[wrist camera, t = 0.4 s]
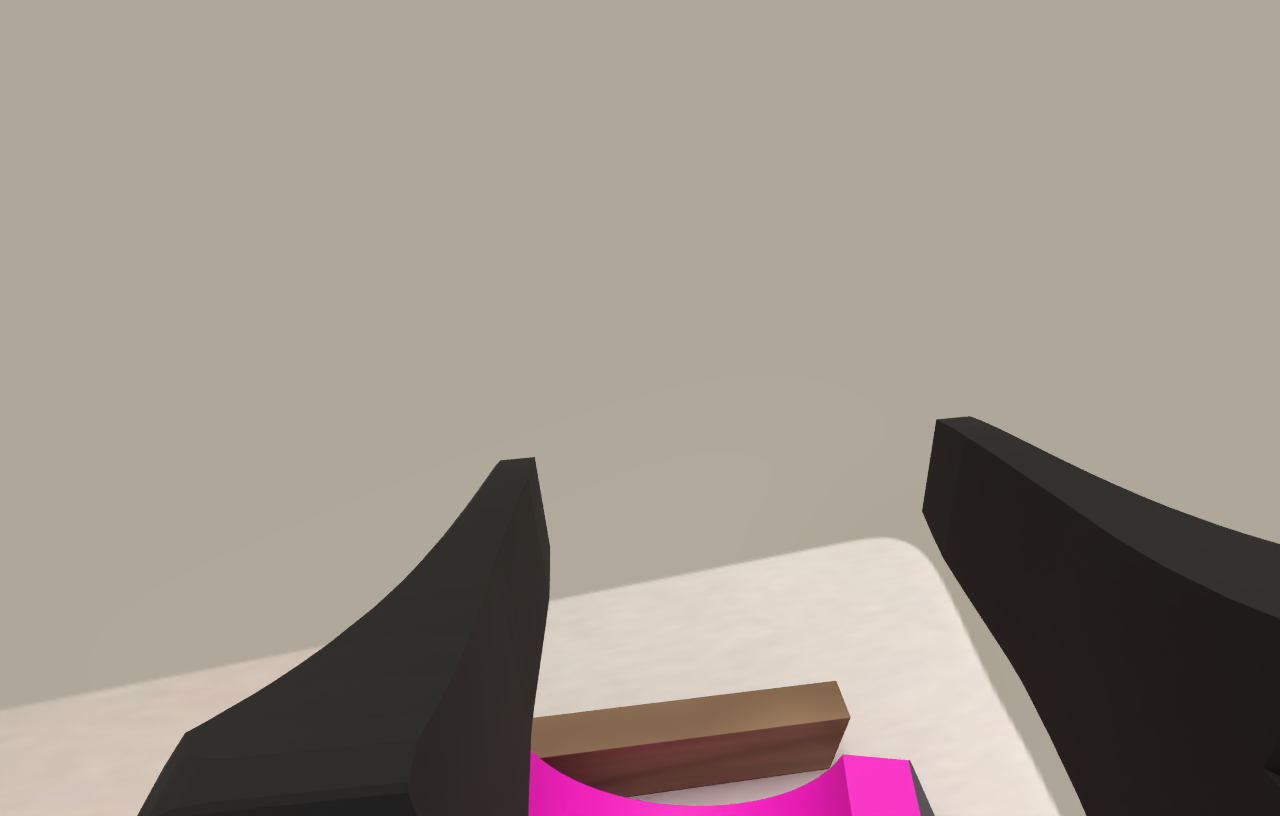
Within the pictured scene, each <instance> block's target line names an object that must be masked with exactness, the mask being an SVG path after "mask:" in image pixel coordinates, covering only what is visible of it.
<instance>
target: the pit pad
mask: <svg viewBox="0 0 1280 816" xmlns="http://www.w3.org/2000/svg"><path fill="white" fill-rule="evenodd" d="M908 761H909V766H910V770H911V775H912V779H913V784H914V788H915V793H916V797H917V802H918V806H919V811H920V815H921V816H934V813H933V811H932V809H931V807H930V804H929V802H928V800H927V798H926V795H925V793H924V791H923V788H922V786H921V784H920V782H919V779H918V777H917V775H916V773H915V770H914V768H913V766H912V764H911V761H910V760H908Z"/></svg>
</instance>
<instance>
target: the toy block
mask: <svg viewBox="0 0 1280 816" xmlns="http://www.w3.org/2000/svg"><path fill="white" fill-rule="evenodd" d="M529 816H921V815H920V811H919V806H918V802H917V797H916V793H915V788H914V784H913V779H912V775H911V770H910V766H909V761H908V760H898V759H887V758H876V757H865V756H854V755H842V756H841V757H840V758H839V760H838V761H837V762H836V763H835V764H834V765H833V766H832V767H831V768H830V769H829V770H828V771H826V772H825V773H824V774H822V775H821V776H820V777H818V778H816V779H815V780H813V781H811V782H809V783H808V784H806V785H803V786H801V787H799V788H797V789H795V790H792V791H789V792H786V793H784V794H781V795H777V796H774V797H770V798H766V799H762V800H757V801H752V802H746V803H739V804H730V805H717V806H681V805H668V804H659V803H652V802H645V801H640V800H634V799H629V798H625V797H621V796H617V795H614V794H610V793H607V792H604V791H600V790H598V789H595V788H592V787H590V786H587V785H585V784H582V783H580V782H578V781H575V780H573V779H571V778H569V777H568V776H566V775H564V774H562V773H560V772H559V771H557V770H555V769H554V768H552V767H551V766H549V765H548V764H547V763H545V762H544V761H543V760H541V759H540V758H539V757H538V756H537V755H536V754H535V753H534V752H532V750H531V757H530V783H529Z"/></svg>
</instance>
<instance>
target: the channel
mask: <svg viewBox="0 0 1280 816" xmlns="http://www.w3.org/2000/svg"><path fill="white" fill-rule="evenodd" d="M850 718H851V717H850V715H849V712H848V710H847V707H846V705H845V702H844V700H843V697H842V695H841V692H840V690H839V687H838V684H837V682H836V681H830V682H822V683H814V684H806V685H798V686H790V687H782V688H773V689H765V690H757V691H749V692H741V693H733V694H725V695H716V696H708V697H700V698H692V699H684V700H676V701H668V702H659V703H651V704H643V705H635V706H627V707H619V708H611V709H602V710H594V711H586V712H578V713H570V714H562V715H554V716H545V717H537V718H533V723H532V733H531V750H532V752H534V753H535V754H536V755H537V756H538V757H539V758H540V759H541V760H543V761H544V762H545V763H547V764H548V765H549V766H551V767H552V768H554V769H555V770H557V771H559V772H560V773H562V774H564V775H566V776H568V777H569V778H571V779H573V780H575V781H578V782H580V783H582V784H585V785H587V786H590V787H592V788H595V789H598V790H600V791H604V792H607V793H610V794H614V795H617V796H621V797H628V796H635V795H642V794H649V793H657V792H664V791H671V790H678V789H685V788H692V787H699V786H707V785H714V784H721V783H728V782H735V781H742V780H749V779H757V778H764V777H771V776H778V775H785V774H792V773H799V772H807V771H814V770H821V769H828V768H830V766H831V763H832V761H833V759H834V756H835V754H836V751H837V749H838V746H839V744H840V742H841V739H842V737H843V734H844V732H845V730H846V727H847V725H848V722H849V720H850Z"/></svg>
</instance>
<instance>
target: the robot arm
mask: <svg viewBox="0 0 1280 816" xmlns="http://www.w3.org/2000/svg"><path fill="white" fill-rule="evenodd" d="M922 512H923V514H924V516H925V519H926V521H927V524H928V526H929V528H930V531H931V533H932V535H933V537H934V539H935V542H936V544H937V546H938V548H939V550H940V552H941V554H942V556H943V558H944V560H945V562H946V563H947V565H948V566H949V568H950V570H951V571H952V573H953V574H954V576H955V578H956V579H957V581H958V582H959V584H960V585H961V587H962V589H963V590H964V592H965V593H966V595H967V596H968V598H969V599H970V601H971V602H972V604H973V606H974V607H975V608H976V610H977V612H978V613H979V615H980V616H981V618H982V619H983V621H984V622H985V624H986V625H987V627H988V629H989V630H990V632H991V633H992V635H993V636H994V638H995V639H996V641H997V642H998V644H999V645H1000V647H1001V649H1002V650H1003V652H1004V653H1005V655H1006V656H1007V658H1008V659H1009V661H1010V663H1011V664H1012V666H1013V668H1014V669H1015V671H1016V673H1017V674H1018V676H1019V677H1020V679H1021V681H1022V683H1023V685H1024V686H1025V688H1026V690H1027V692H1028V694H1029V696H1030V698H1031V700H1032V702H1033V704H1034V706H1035V708H1036V710H1037V712H1038V714H1039V716H1040V718H1041V720H1042V722H1043V724H1044V726H1045V728H1046V730H1047V732H1048V734H1049V736H1050V738H1051V740H1052V742H1053V744H1054V746H1055V748H1056V750H1057V752H1058V755H1059V757H1060V759H1061V761H1062V763H1063V765H1064V767H1065V769H1066V772H1067V774H1068V776H1069V778H1070V780H1071V782H1072V784H1073V786H1074V788H1075V791H1076V793H1077V795H1078V797H1079V799H1080V802H1081V804H1082V806H1083V809H1084V811H1085V813H1086V816H1280V544H1277V543H1274V542H1270V541H1267V540H1264V539H1260V538H1257V537H1254V536H1250V535H1247V534H1243V533H1241V532H1238V531H1235V530H1231V529H1228V528H1225V527H1222V526H1219V525H1216V524H1213V523H1210V522H1208V521H1205V520H1203V519H1199V518H1197V517H1194V516H1191V515H1189V514H1186V513H1183V512H1181V511H1178V510H1175V509H1172V508H1169V507H1167V506H1165V505H1162V504H1160V503H1157V502H1155V501H1152V500H1150V499H1147V498H1145V497H1142V496H1140V495H1138V494H1135V493H1133V492H1131V491H1128V490H1126V489H1124V488H1122V487H1119V486H1117V485H1115V484H1112V483H1110V482H1108V481H1106V480H1103V479H1101V478H1099V477H1097V476H1095V475H1093V474H1090V473H1088V472H1086V471H1084V470H1082V469H1080V468H1078V467H1076V466H1074V465H1071V464H1070V463H1068V462H1065V461H1063V460H1061V459H1059V458H1057V457H1055V456H1053V455H1051V454H1049V453H1047V452H1045V451H1043V450H1041V449H1039V448H1037V447H1035V446H1033V445H1031V444H1029V443H1027V442H1025V441H1023V440H1021V439H1019V438H1017V437H1015V436H1013V435H1011V434H1009V433H1007V432H1005V431H1003V430H1001V429H998V428H996V427H994V426H992V425H990V424H988V423H985V422H983V421H981V420H978V419H976V418H973V417H970V416H969V417H959V418H948V419H937V420H936V426H935V432H934V438H933V445H932V452H931V457H930V464H929V471H928V477H927V483H926V490H925V496H924V502H923V509H922ZM549 589H550V544H549V538H548V532H547V527H546V521H545V515H544V509H543V503H542V498H541V492H540V486H539V481H538V474H537V468H536V462H535V457H533V458H522V459H511V460H501V461H500V462H499V463H498V464H497V465H496V466H495V467H494V469H493V470H492V472H491V473H490V475H489V476H488V477H487V479H486V480H485V482H484V483H483V484H482V486H481V487H480V489H479V490H478V491H477V493H476V494H475V495H474V497H473V498H472V500H471V501H470V502H469V504H468V505H467V506H466V508H465V509H464V510H463V512H462V513H461V514H460V516H459V517H458V518H457V519H456V520H455V522H454V523H453V524H452V526H451V527H450V528H449V530H448V531H447V532H446V533H445V534H444V536H443V537H442V538H441V539H440V540H439V542H438V543H437V544H436V545H435V546H434V547H433V548H432V550H431V551H430V552H429V553H428V554H427V555H426V556H425V558H424V559H423V560H422V561H421V562H420V563H419V564H418V565H417V566H416V568H415V569H414V570H413V571H412V572H411V573H410V574H409V575H408V576H407V577H406V578H405V579H404V580H403V581H402V582H401V583H400V584H399V585H398V586H397V587H396V588H395V589H394V590H393V591H391V592H390V593H389V594H388V595H387V596H386V597H385V598H384V599H383V600H382V601H381V602H379V603H378V604H377V605H376V606H375V607H374V608H373V609H371V610H370V611H369V612H368V613H366V614H365V615H364V616H363V617H361V618H360V619H359V620H358V621H356V622H355V623H354V624H353V625H351V626H350V627H349V628H348V629H346V630H345V631H344V632H343V633H341V634H340V635H339V636H338V637H336V638H335V639H334V640H333V641H331V642H330V643H329V644H328V645H326V646H325V647H323V648H322V649H321V650H319V651H318V652H316V653H315V654H314V655H312V656H311V657H309V658H308V659H307V660H305V661H304V662H302V663H301V664H300V665H298V666H297V667H295V668H293V669H292V670H290V671H289V672H287V673H286V674H284V675H283V676H281V677H280V678H278V679H277V680H275V681H274V682H272V683H271V684H269V685H268V686H266V687H264V688H263V689H261V690H260V691H258V692H256V693H255V694H253V695H251V696H250V697H248V698H246V699H244V700H243V701H241V702H239V703H237V704H236V705H234V706H232V707H231V708H229V709H227V710H225V711H224V712H222V713H220V714H218V715H217V716H215V717H213V718H212V719H210V720H208V721H206V722H205V723H203V724H201V725H199V726H197V727H196V728H194V729H192V730H190V731H188V732H186V733H185V734H184V736H183V737H182V739H181V741H180V742H179V744H178V745H177V747H176V748H175V750H174V752H173V753H172V755H171V756H170V758H169V760H168V761H167V763H166V764H165V766H164V768H163V770H162V771H161V773H160V775H159V777H158V779H157V781H156V782H155V784H154V786H153V788H152V790H151V792H150V793H149V795H148V797H147V799H146V801H145V803H144V804H143V806H142V808H141V810H140V812H139V814H138V815H137V816H529V783H530V757H531V733H532V723H533V712H534V704H535V697H536V690H537V683H538V676H539V669H540V662H541V654H542V647H543V640H544V633H545V626H546V618H547V611H548V603H549Z"/></svg>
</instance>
